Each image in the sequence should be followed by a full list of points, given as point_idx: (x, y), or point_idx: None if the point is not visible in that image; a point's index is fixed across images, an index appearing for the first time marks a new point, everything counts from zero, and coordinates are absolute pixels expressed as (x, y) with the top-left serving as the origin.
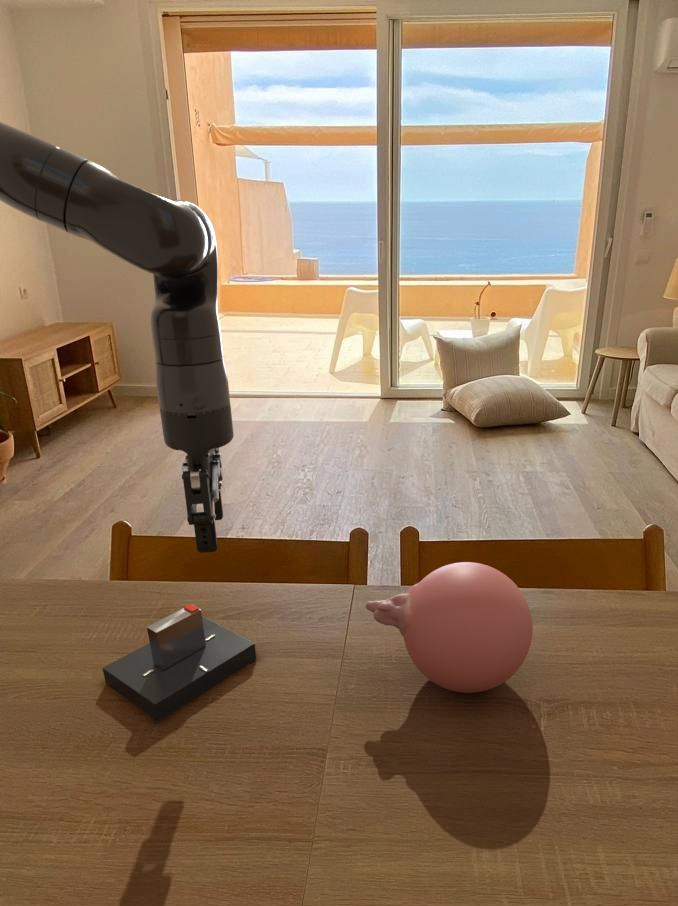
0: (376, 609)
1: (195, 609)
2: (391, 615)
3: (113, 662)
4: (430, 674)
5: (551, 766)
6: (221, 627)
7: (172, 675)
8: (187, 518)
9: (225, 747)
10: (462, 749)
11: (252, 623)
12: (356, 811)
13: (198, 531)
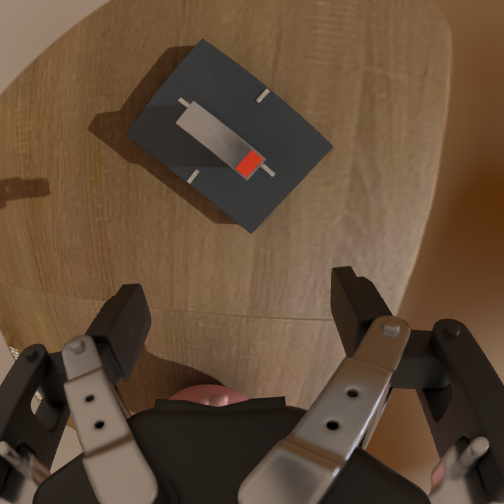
0: (211, 404)
1: (241, 173)
2: None
3: (214, 48)
4: (168, 399)
5: (133, 412)
6: (295, 182)
7: (179, 137)
8: (24, 355)
9: (104, 215)
10: (135, 381)
11: (336, 209)
12: (68, 318)
13: (89, 332)
